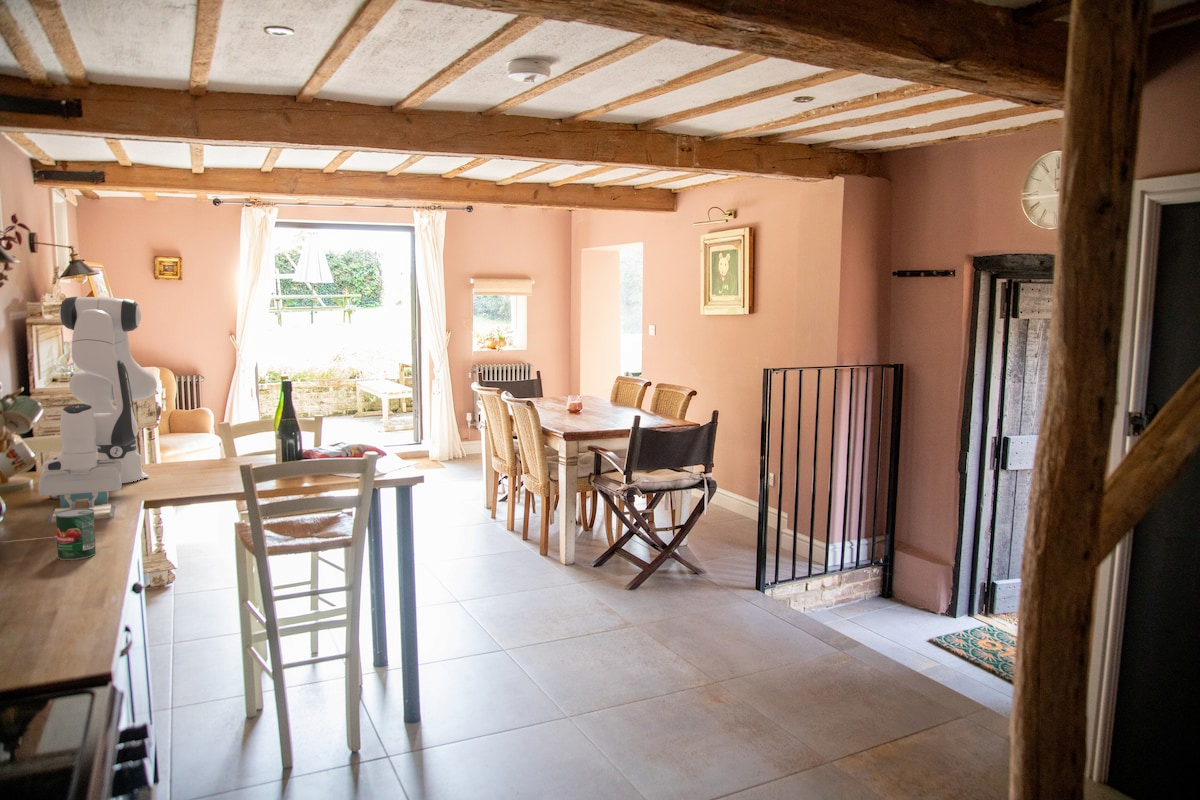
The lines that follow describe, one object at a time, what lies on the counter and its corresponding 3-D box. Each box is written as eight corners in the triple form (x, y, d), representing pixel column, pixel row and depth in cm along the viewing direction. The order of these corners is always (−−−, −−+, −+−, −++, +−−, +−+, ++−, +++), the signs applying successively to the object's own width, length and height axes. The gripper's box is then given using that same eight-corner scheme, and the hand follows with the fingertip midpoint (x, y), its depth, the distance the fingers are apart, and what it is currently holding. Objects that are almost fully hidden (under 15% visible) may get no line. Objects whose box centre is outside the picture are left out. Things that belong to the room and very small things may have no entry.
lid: (55, 511, 236) (54, 498, 236) (111, 506, 243) (110, 493, 243) (51, 522, 224) (50, 508, 224) (109, 517, 231) (109, 503, 231)
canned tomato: (52, 561, 192) (50, 516, 191) (64, 552, 200) (62, 508, 199) (89, 559, 195) (87, 515, 193) (100, 550, 202) (98, 507, 201)
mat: (51, 512, 237) (51, 511, 237) (115, 507, 245) (115, 505, 245) (46, 525, 223) (46, 524, 223) (113, 519, 231) (113, 517, 231)
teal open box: (63, 501, 250) (62, 482, 249) (108, 497, 256) (108, 479, 255) (60, 510, 240) (59, 490, 239) (107, 506, 245) (106, 486, 245)
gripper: (121, 456, 240) (123, 502, 242) (38, 461, 230) (41, 509, 231) (121, 460, 235) (123, 506, 236) (36, 465, 224) (38, 514, 226)
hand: (82, 508), depth 234 cm, fingers closed on lid, 3 cm apart
